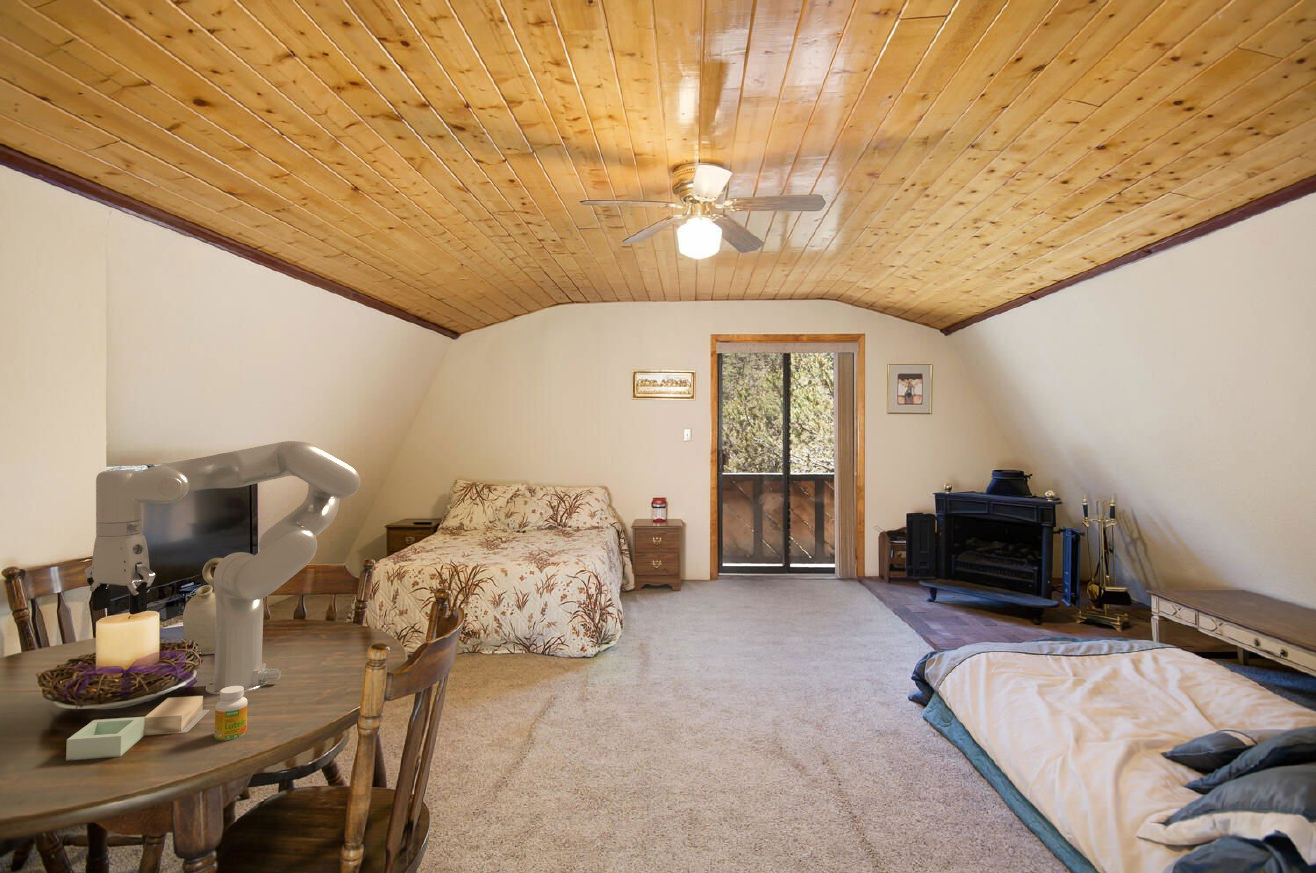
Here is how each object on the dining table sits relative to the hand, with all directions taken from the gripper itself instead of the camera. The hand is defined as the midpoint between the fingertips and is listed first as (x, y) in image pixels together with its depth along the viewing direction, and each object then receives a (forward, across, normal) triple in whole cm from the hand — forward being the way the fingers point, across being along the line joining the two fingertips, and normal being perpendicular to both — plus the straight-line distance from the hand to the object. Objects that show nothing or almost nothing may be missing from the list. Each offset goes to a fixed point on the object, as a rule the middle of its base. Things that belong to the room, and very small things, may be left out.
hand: (119, 610), depth 140 cm
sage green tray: (+22, -13, +13) cm, 29 cm away
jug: (+23, +19, -41) cm, 50 cm away
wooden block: (+22, -15, 0) cm, 26 cm away
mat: (+22, -15, +1) cm, 27 cm away
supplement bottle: (+23, -30, +2) cm, 38 cm away
